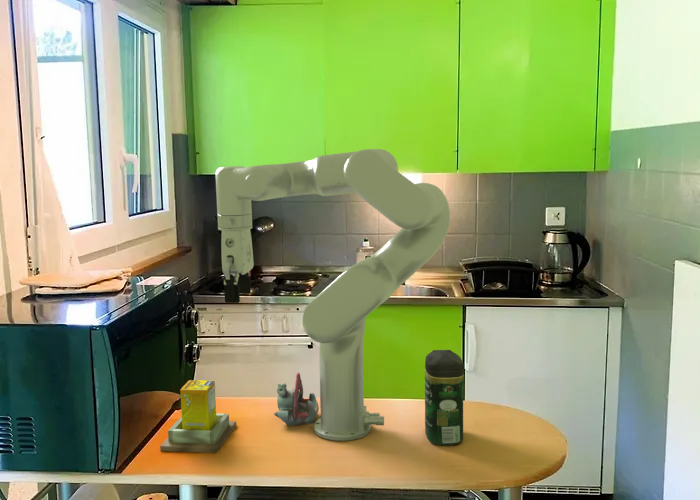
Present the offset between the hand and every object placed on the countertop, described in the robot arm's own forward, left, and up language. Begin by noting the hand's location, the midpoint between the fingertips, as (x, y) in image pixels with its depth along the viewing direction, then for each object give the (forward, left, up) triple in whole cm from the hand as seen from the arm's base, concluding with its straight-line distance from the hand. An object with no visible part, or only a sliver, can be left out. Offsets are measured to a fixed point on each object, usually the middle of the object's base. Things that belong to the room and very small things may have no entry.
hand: (238, 297), depth 154 cm
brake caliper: (-13, +1, -28) cm, 31 cm away
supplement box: (+6, +13, -27) cm, 31 cm away
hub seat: (+6, +12, -28) cm, 31 cm away
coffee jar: (-46, +7, -28) cm, 55 cm away
